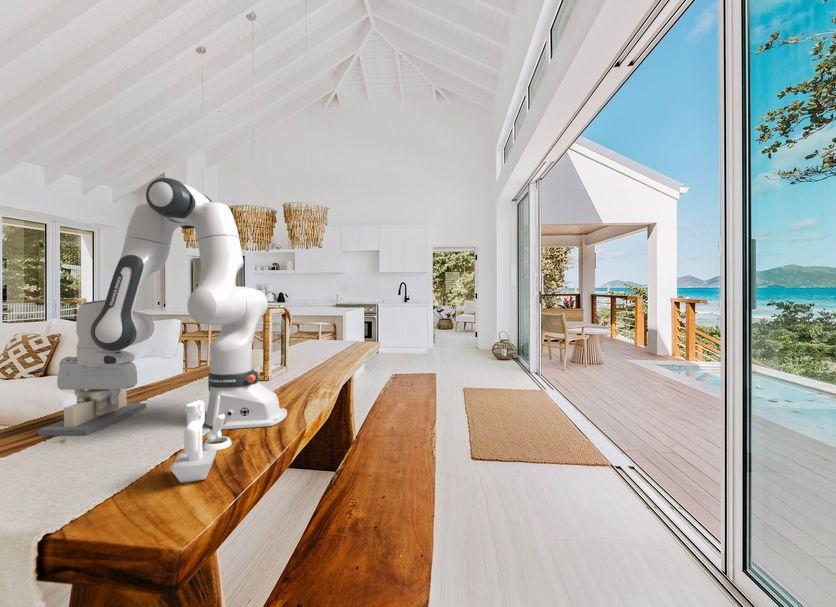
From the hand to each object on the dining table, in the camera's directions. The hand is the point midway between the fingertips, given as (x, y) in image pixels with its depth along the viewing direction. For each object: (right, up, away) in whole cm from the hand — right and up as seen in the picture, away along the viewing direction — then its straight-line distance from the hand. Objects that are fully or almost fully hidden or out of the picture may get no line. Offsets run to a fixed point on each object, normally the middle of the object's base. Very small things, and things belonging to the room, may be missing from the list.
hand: (98, 404), depth 114 cm
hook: (+44, -6, -18) cm, 48 cm away
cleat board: (0, -5, 0) cm, 5 cm away
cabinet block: (0, -2, 0) cm, 2 cm away
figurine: (+47, -6, -34) cm, 59 cm away
